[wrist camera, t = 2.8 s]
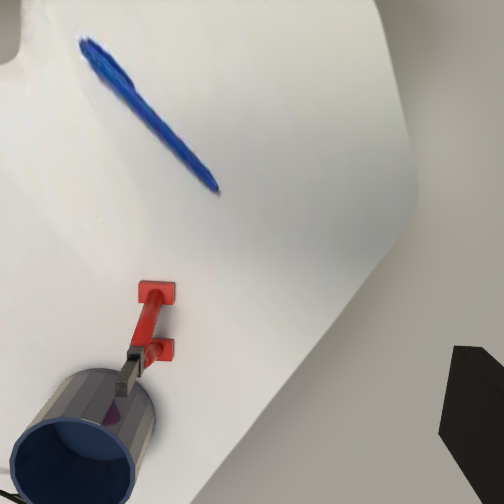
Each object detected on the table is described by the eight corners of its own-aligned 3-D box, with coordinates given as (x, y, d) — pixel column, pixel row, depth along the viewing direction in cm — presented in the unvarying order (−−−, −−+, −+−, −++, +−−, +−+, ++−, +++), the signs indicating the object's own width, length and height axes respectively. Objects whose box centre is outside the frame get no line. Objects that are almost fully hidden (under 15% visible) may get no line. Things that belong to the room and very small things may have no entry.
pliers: (174, 282, 39) (144, 339, 28) (173, 357, 41) (144, 438, 30) (140, 280, 39) (96, 336, 28) (140, 355, 41) (99, 436, 30)
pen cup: (155, 371, 42) (135, 420, 34) (154, 462, 44) (135, 526, 37) (48, 365, 41) (5, 413, 34) (53, 457, 44) (13, 520, 36)
